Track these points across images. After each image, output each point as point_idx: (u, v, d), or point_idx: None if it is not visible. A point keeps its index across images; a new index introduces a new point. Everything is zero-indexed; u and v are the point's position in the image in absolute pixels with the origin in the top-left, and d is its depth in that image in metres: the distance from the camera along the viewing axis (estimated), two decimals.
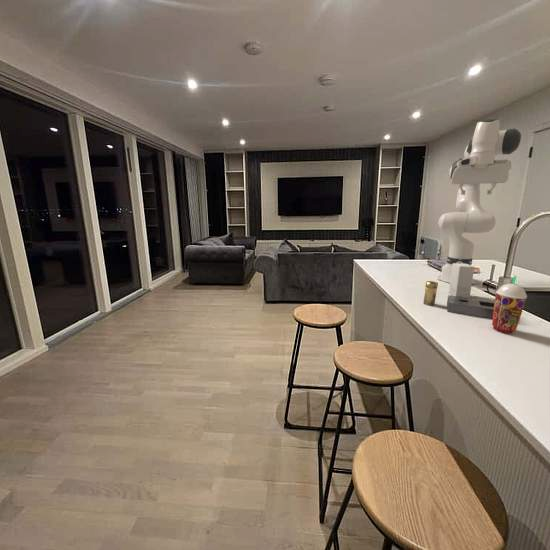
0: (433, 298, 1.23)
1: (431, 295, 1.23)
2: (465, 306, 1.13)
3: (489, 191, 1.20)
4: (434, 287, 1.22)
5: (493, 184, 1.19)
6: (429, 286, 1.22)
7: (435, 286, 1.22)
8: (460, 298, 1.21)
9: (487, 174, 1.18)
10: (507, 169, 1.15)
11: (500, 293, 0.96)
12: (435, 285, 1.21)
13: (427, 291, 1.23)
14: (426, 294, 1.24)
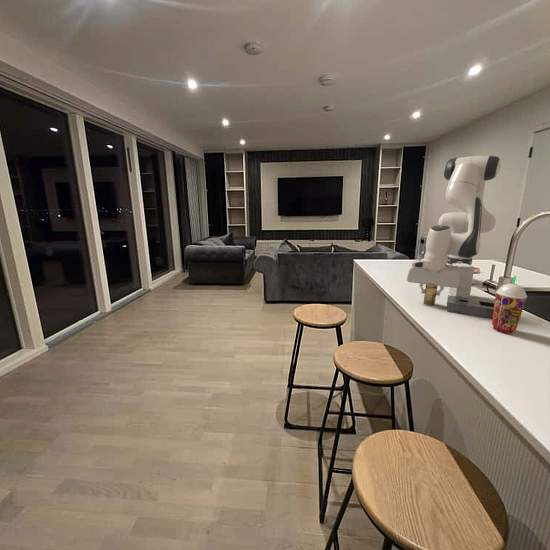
0: (433, 298, 1.23)
1: (431, 295, 1.23)
2: (465, 306, 1.13)
3: (437, 293, 1.22)
4: (434, 287, 1.22)
5: (441, 287, 1.21)
6: (429, 286, 1.22)
7: (435, 286, 1.22)
8: (460, 298, 1.21)
9: (440, 278, 1.20)
10: (458, 276, 1.16)
11: (500, 293, 0.96)
12: (435, 285, 1.21)
13: (427, 291, 1.23)
14: (426, 294, 1.24)
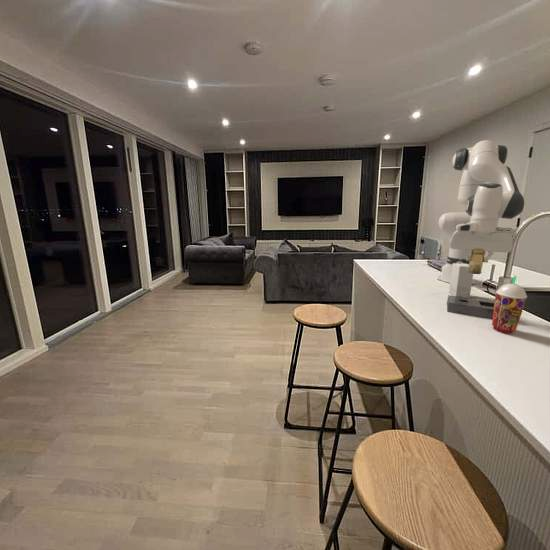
0: (480, 265, 1.11)
1: (478, 262, 1.11)
2: (465, 306, 1.13)
3: (485, 259, 1.11)
4: (482, 253, 1.10)
5: (490, 252, 1.09)
6: (476, 252, 1.11)
7: (483, 252, 1.10)
8: (460, 298, 1.21)
9: (489, 242, 1.08)
10: (511, 239, 1.05)
11: (500, 293, 0.96)
12: (483, 250, 1.10)
13: (474, 258, 1.12)
14: (472, 261, 1.12)
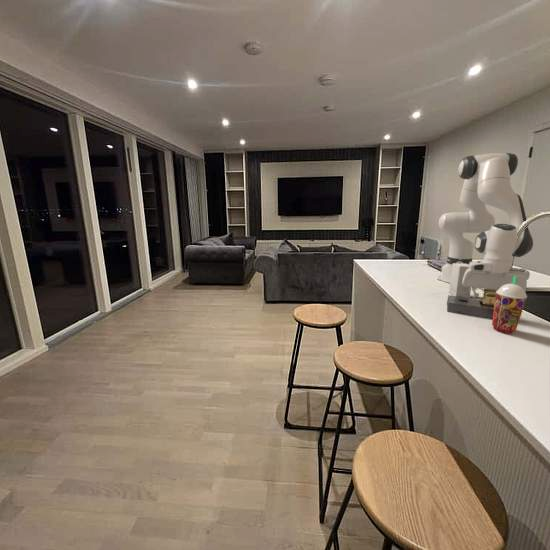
0: None
1: (491, 304, 1.12)
2: (465, 306, 1.13)
3: None
4: (494, 295, 1.11)
5: None
6: (489, 294, 1.11)
7: None
8: (460, 298, 1.21)
9: (502, 282, 1.09)
10: (525, 280, 1.05)
11: (500, 293, 0.96)
12: None
13: (486, 300, 1.12)
14: (484, 303, 1.13)
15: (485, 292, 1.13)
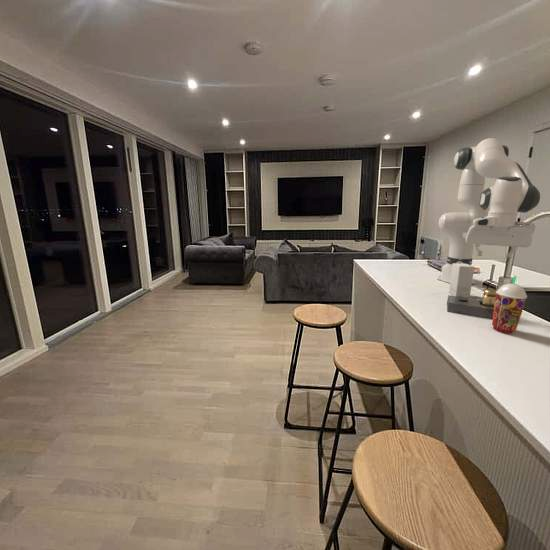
0: None
1: (491, 304, 1.12)
2: (465, 306, 1.13)
3: (509, 255, 1.08)
4: (494, 295, 1.11)
5: (514, 248, 1.06)
6: (489, 294, 1.11)
7: None
8: (460, 298, 1.21)
9: (507, 236, 1.06)
10: (530, 233, 1.03)
11: (500, 293, 0.96)
12: None
13: (486, 300, 1.12)
14: (484, 303, 1.13)
15: (485, 292, 1.13)
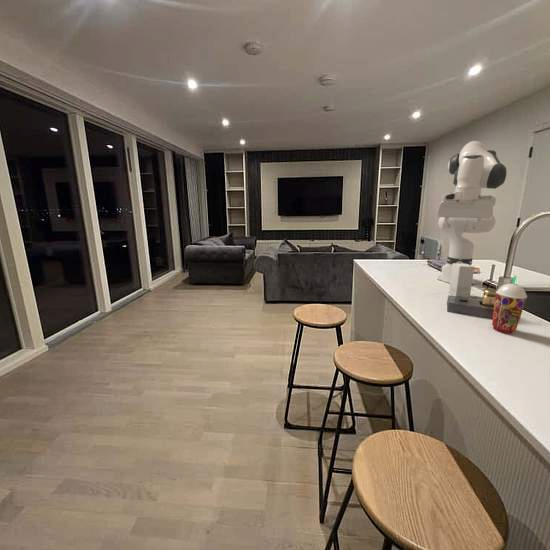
0: None
1: (491, 304, 1.12)
2: (465, 306, 1.13)
3: (474, 226, 1.20)
4: (494, 295, 1.11)
5: (478, 219, 1.18)
6: (489, 294, 1.11)
7: None
8: (460, 298, 1.21)
9: (472, 209, 1.18)
10: (491, 205, 1.15)
11: (500, 293, 0.96)
12: None
13: (486, 300, 1.12)
14: (484, 303, 1.13)
15: (485, 292, 1.13)
